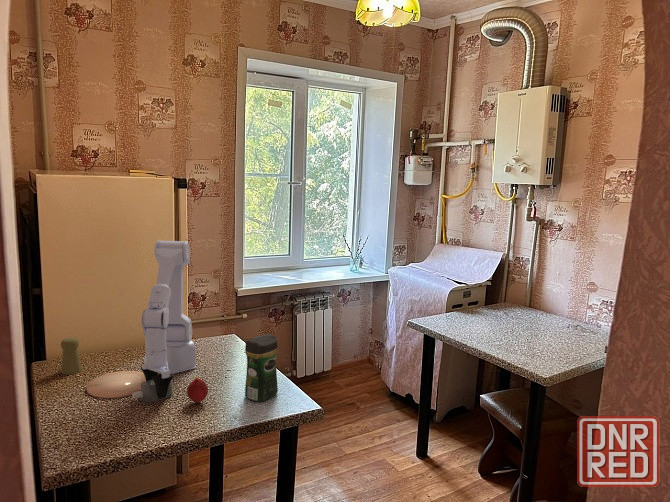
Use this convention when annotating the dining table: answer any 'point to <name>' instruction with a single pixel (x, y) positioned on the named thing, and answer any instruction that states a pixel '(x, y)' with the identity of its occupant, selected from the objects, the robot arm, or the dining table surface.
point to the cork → (70, 356)
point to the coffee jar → (261, 368)
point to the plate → (116, 384)
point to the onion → (197, 390)
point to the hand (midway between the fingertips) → (157, 393)
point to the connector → (150, 392)
